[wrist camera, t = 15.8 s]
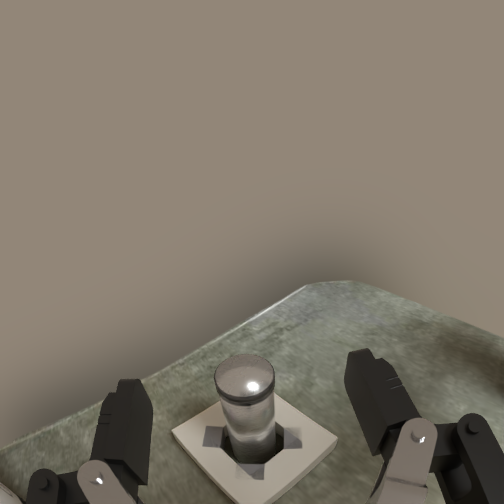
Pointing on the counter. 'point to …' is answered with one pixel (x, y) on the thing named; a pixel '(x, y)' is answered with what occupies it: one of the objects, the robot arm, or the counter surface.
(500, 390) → the counter surface
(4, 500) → the supplement can
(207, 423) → the mount plate
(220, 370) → the grey cylindrical piece
